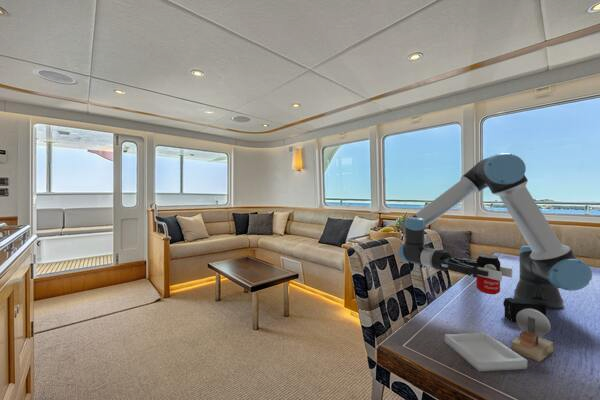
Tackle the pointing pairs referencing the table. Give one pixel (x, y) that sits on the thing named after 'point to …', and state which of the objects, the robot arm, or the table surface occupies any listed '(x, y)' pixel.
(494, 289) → the beverage can
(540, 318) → the pulley stand
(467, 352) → the tray
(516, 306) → the digital camera
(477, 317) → the table surface
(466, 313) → the table surface
